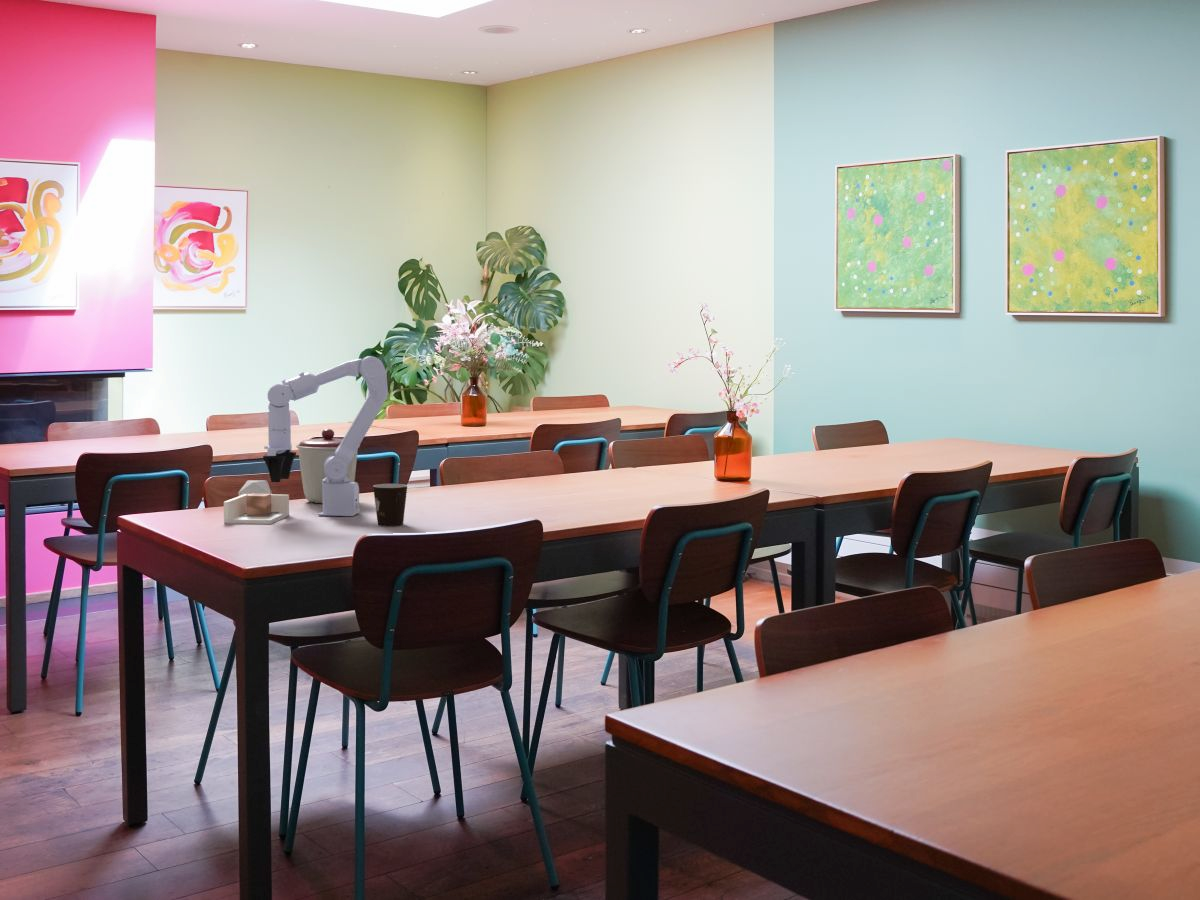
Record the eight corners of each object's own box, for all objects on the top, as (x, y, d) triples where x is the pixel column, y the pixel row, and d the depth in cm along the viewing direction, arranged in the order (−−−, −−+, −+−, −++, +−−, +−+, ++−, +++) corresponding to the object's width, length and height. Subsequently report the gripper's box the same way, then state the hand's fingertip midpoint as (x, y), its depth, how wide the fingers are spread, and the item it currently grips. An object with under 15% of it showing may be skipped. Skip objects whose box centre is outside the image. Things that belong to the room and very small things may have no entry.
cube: (271, 512, 332) (271, 493, 331) (265, 515, 327) (265, 496, 326) (252, 512, 332) (252, 493, 332) (246, 514, 327) (246, 495, 327)
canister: (370, 503, 361) (370, 430, 359) (310, 507, 351) (309, 432, 349) (345, 496, 376) (345, 425, 374) (287, 500, 366) (286, 427, 364)
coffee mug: (375, 522, 325) (374, 483, 324) (408, 522, 326) (408, 483, 325) (370, 529, 313) (370, 489, 312) (405, 528, 314) (405, 489, 313)
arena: (289, 515, 336) (288, 494, 335) (270, 524, 320) (269, 502, 319) (245, 514, 336) (244, 493, 336) (224, 523, 320) (223, 501, 320)
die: (254, 515, 339) (276, 485, 341) (227, 498, 340) (249, 468, 343) (262, 522, 347) (283, 492, 350) (235, 505, 348) (257, 475, 351)
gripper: (273, 427, 340) (274, 477, 341) (255, 431, 326) (256, 483, 327) (298, 427, 340) (299, 477, 341) (282, 431, 325) (283, 483, 326)
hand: (280, 480), depth 334 cm, fingers open, 7 cm apart
